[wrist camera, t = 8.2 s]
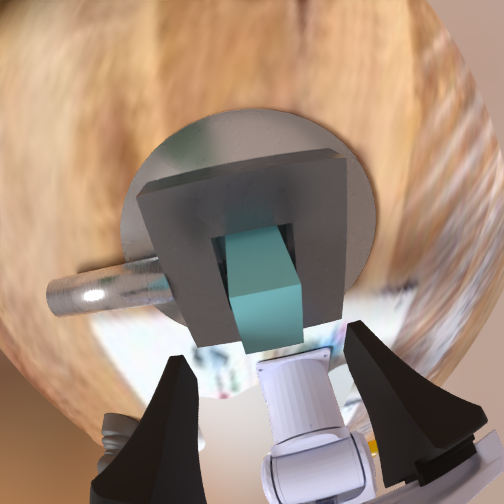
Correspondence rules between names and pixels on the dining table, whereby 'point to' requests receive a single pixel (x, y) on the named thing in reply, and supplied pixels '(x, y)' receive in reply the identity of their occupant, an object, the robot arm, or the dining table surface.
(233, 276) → the teal rectangular prism
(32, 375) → the dining table surface
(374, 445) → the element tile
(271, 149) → the rosette bracket
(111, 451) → the candle holder
